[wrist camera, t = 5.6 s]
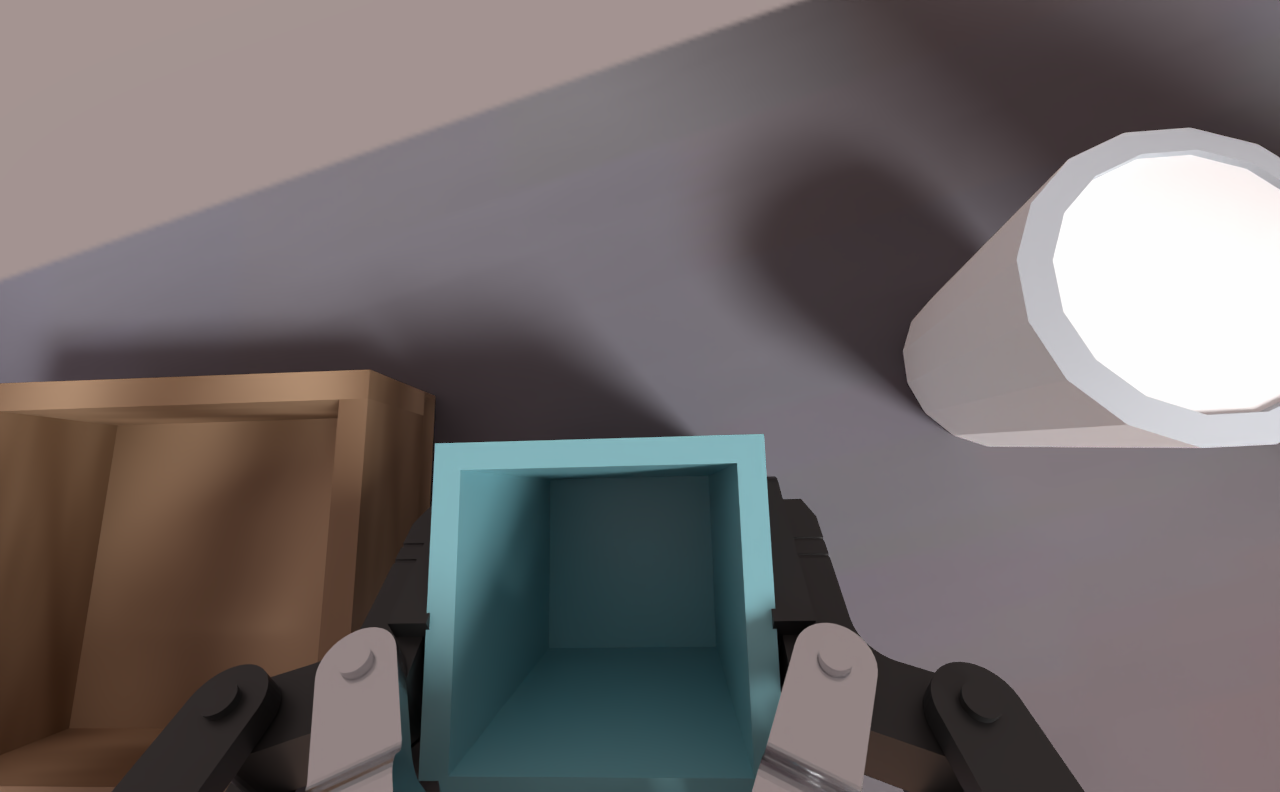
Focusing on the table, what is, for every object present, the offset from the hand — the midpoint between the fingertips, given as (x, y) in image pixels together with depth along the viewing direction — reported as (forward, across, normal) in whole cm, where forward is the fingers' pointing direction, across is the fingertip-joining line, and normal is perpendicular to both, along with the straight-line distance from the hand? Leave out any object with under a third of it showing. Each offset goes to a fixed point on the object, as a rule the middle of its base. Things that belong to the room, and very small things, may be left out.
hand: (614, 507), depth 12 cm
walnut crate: (+2, +12, +5) cm, 13 cm away
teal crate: (+2, 0, +5) cm, 5 cm away
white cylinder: (+7, -12, 0) cm, 14 cm away
